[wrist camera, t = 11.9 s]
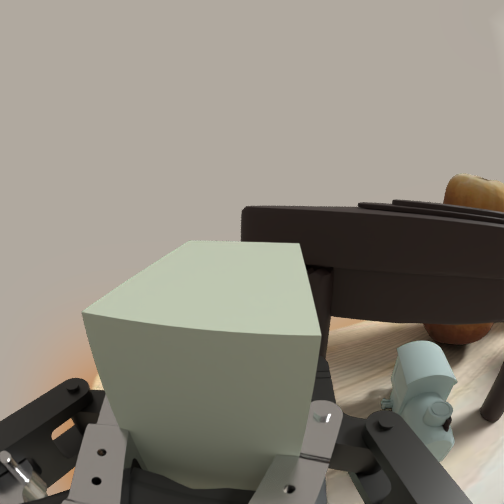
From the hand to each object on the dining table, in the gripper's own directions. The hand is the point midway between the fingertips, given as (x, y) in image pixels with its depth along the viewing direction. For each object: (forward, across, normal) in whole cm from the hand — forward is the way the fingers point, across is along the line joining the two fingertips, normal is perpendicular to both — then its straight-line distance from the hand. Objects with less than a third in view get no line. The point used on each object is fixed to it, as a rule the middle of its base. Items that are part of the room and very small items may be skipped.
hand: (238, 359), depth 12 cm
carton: (-3, 0, +7) cm, 7 cm away
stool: (+6, -15, +15) cm, 22 cm away
